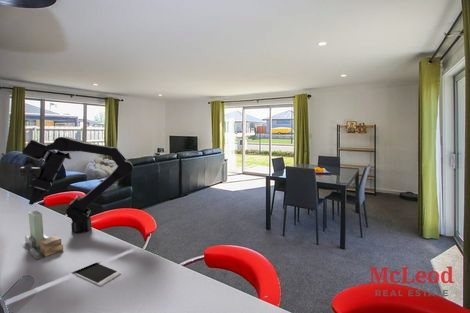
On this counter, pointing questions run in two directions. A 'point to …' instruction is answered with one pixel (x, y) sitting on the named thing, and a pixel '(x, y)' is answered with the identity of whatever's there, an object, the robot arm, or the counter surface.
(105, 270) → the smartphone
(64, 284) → the counter surface
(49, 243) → the block
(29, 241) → the rack
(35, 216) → the pale green block
